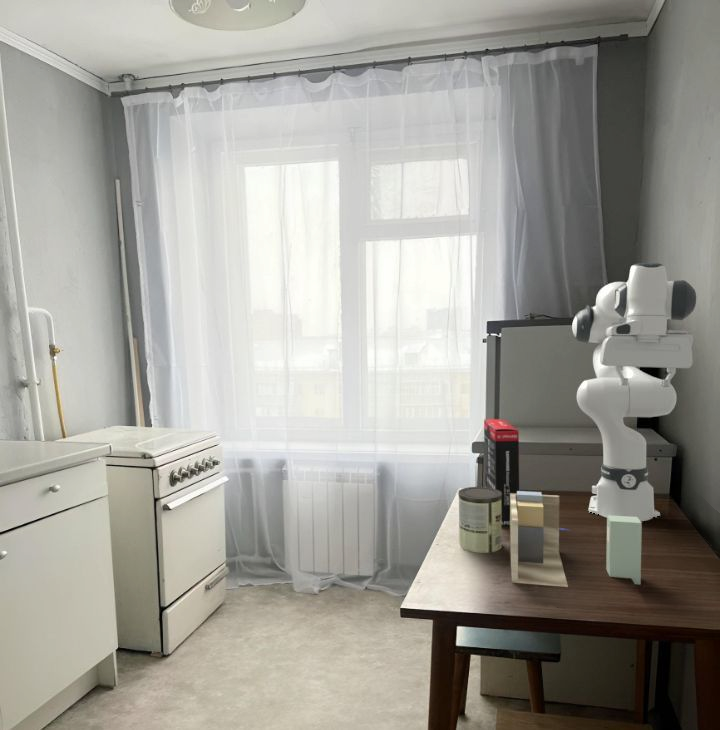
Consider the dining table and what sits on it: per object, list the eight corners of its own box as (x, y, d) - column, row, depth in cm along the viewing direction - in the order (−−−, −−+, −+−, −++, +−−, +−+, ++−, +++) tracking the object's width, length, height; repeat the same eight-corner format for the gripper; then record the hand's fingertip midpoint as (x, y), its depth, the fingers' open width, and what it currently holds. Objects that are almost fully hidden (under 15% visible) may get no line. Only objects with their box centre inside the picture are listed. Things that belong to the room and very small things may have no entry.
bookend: (517, 554, 135) (517, 520, 135) (541, 555, 134) (542, 521, 134) (517, 561, 131) (517, 526, 130) (543, 563, 130) (543, 528, 129)
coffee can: (460, 540, 148) (460, 485, 147) (502, 543, 145) (502, 487, 144) (456, 555, 138) (456, 496, 137) (501, 559, 135) (501, 499, 134)
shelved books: (516, 549, 138) (516, 490, 137) (540, 551, 137) (541, 492, 136) (517, 560, 132) (517, 499, 131) (543, 562, 130) (543, 500, 130)
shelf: (509, 551, 140) (510, 493, 139) (558, 555, 137) (558, 495, 137) (511, 587, 121) (511, 520, 120) (568, 592, 118) (568, 523, 117)
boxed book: (605, 574, 127) (606, 515, 126) (636, 576, 125) (637, 516, 124) (609, 582, 123) (610, 521, 122) (640, 584, 121) (641, 523, 121)
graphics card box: (521, 531, 154) (521, 428, 152) (494, 531, 154) (494, 428, 153) (506, 510, 171) (506, 418, 170) (482, 511, 171) (482, 418, 170)
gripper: (688, 330, 143) (687, 387, 143) (599, 329, 147) (597, 384, 147) (697, 328, 137) (696, 388, 136) (604, 327, 141) (602, 384, 141)
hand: (644, 386), depth 142 cm, fingers open, 8 cm apart
